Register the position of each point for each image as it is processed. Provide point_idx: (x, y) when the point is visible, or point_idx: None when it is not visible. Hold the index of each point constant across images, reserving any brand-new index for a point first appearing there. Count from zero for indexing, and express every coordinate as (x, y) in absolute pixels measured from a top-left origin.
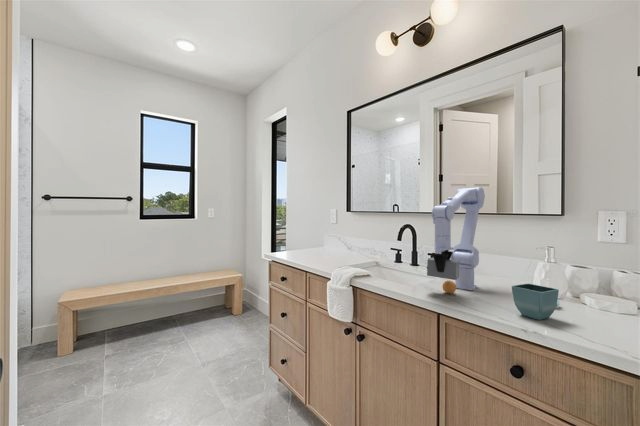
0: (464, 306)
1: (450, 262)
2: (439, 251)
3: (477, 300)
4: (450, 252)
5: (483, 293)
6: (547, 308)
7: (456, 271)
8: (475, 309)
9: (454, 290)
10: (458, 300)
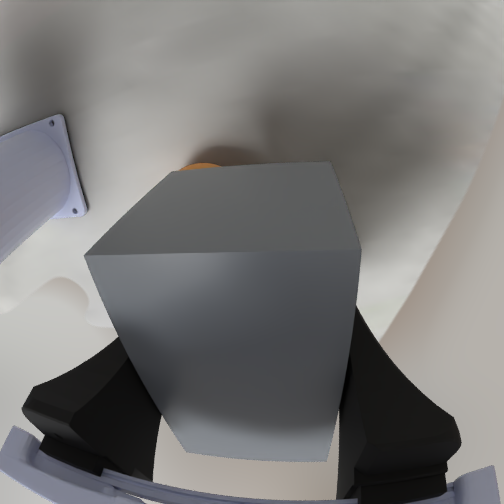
0: (443, 66)
1: (350, 322)
2: (491, 496)
3: (258, 18)
4: (83, 431)
5: (72, 56)
6: None
7: (314, 190)
8: (457, 17)
9: (217, 165)
10: (343, 107)
